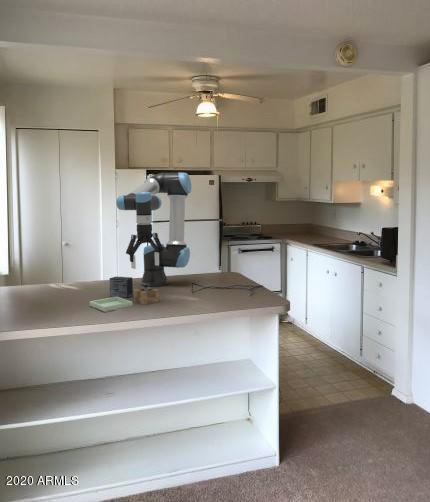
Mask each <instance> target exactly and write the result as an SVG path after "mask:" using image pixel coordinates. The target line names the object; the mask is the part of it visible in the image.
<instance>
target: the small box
mask: <svg viewBox="0 0 430 502" xmlns="http://www.w3.org/2000/svg"><path fill="white" fill-rule="evenodd" d="M112 297H120V298H123V299H129V298H131V297H134V289H133V277H131V276H130V277H129V276H126V277H125V276H113V277H112V276H111V277H110V278H109V298H112Z"/></svg>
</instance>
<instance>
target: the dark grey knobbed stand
mask: <svg viewBox="0 0 430 502" xmlns="http://www.w3.org/2000/svg"><path fill="white" fill-rule="evenodd" d="M149 285H150V283H142V285H141V286H143V288H144V291H149Z"/></svg>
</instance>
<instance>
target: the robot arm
mask: <svg viewBox="0 0 430 502" xmlns="http://www.w3.org/2000/svg"><path fill="white" fill-rule="evenodd" d="M191 192H192V181H191V178H190V175H189V174H188V173H187V172H160V173H157V174H154V175H152V176H150V177H148V178H146V180H144V182H143V184H141V185H140V186H138V187H136V188H135V189H134V190H132V191H131V192H129V193H128V194H126V195H118V196H117V198H116V201H115V202H116V207H117V209H118V210H119V211H135V212H136V217H135V218H136V220H135V221H136V222H135V223H136V233H137V234H131V237H130V241H129V242H128V243H129V244H128V246H127V248H126V251H125V254H126V255H129V262H130V264H131V266H130V267H131V269H133V270H136V269H137V268H136V267H137V265H136V262H137V261H136V255H135V254H136V252H137V251H138V249H139V248H140V246H141V245H142V244H146V243H147V244H148V243H149V245H146V246H145V247H143V254H142V255H143V274H142V278H141V281H140V283H141V286H143V285H142V283H150V285H149V286H148V287H150V288H156V287H163V286H164V287H165V286H167V285H168V278H167V275H166V271H165V268H176V269H178V268H185V267H186V266H188V263H189V262H190V257H191V251H190V248H189V247H187V243H186V241H185V220H186V219H185V212H186V211H185V210H186V209H185V208H186V199H187V198H188V197H189V195H188V194H190V193H191ZM157 194H167V196H166V197H168V199H169V220H168V221H169V223H168V224H169V225H168V226H169V227H168V228H169V230H168V242H166V244H165V245H166V246H165V245H164V243H161V241H160V238H159V234H158V232H153V224H152V223H153V215H152V214H153V213H152V211H158V210H159V209H160V208H161V206H162V199H161V197H160V196H158V195H157ZM152 238H153V239H152Z"/></svg>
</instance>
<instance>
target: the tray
mask: <svg viewBox="0 0 430 502" xmlns="http://www.w3.org/2000/svg"><path fill="white" fill-rule="evenodd" d="M133 305H134V304H133V301H131V300H128V299H126V298H120V297H111V298H110V297H106V298H101V299H95V300H91V301H89V307H90V308H92V309H95V310H98V311H100V312H103V313H108V312H113V311H115V310H118V309H123V308H128V307H133Z"/></svg>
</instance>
